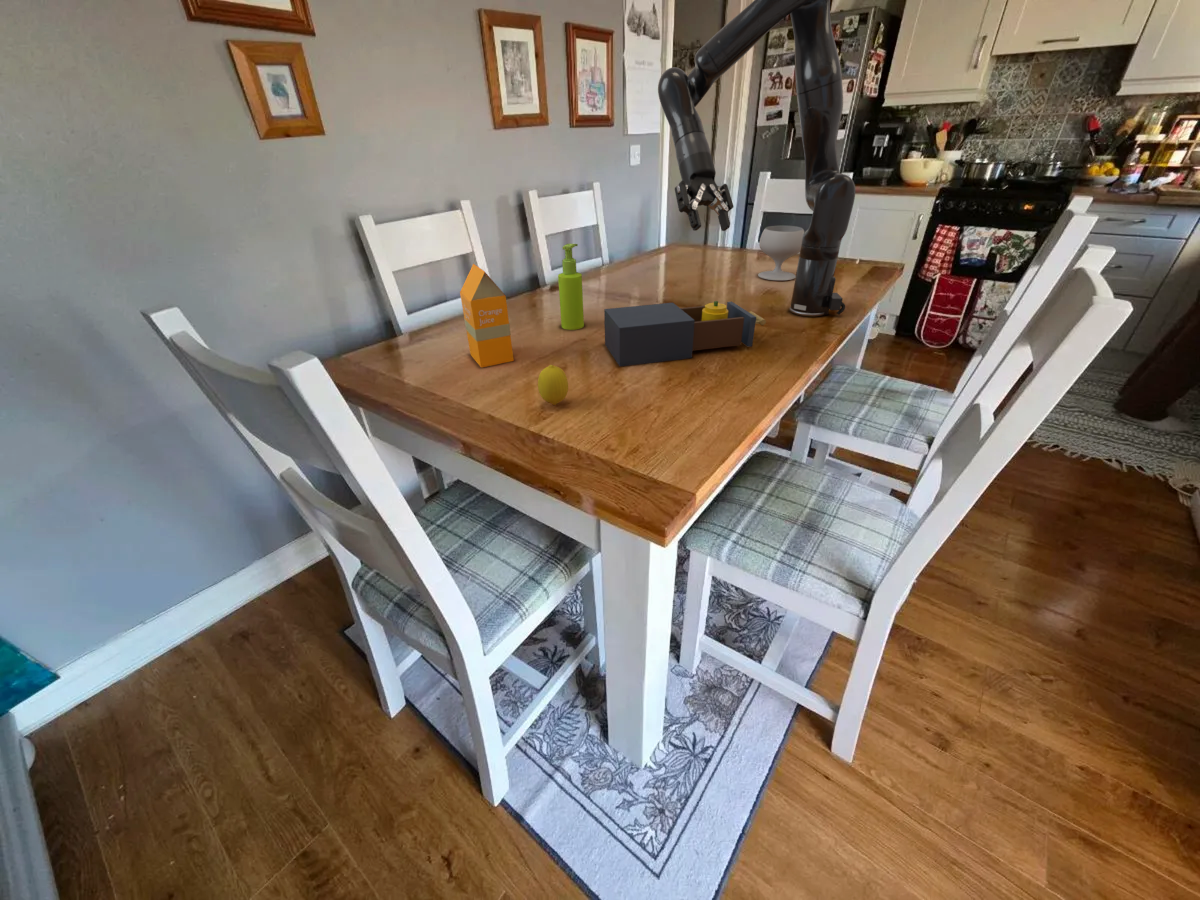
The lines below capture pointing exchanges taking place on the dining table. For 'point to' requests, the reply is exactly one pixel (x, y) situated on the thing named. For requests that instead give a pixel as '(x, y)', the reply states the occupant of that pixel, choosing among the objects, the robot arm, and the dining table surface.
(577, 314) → the soap dispenser
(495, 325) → the orange juice
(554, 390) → the lemon
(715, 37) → the robot arm
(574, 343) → the dining table surface
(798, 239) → the chalice
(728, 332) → the drawer
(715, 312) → the yellow cylinder
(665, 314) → the cabinet
